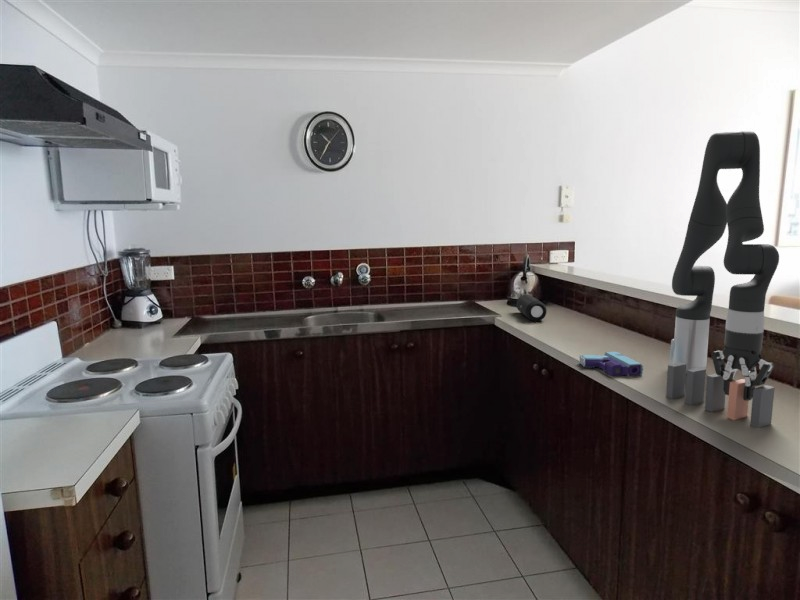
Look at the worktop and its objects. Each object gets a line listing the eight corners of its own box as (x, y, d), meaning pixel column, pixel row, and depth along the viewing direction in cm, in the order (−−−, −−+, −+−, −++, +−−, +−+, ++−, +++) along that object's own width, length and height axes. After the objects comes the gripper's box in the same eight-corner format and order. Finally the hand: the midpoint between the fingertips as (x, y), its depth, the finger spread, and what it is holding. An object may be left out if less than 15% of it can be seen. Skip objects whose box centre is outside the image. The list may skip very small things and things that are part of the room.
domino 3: (704, 409, 129) (706, 375, 128) (717, 406, 131) (719, 372, 130) (711, 412, 128) (713, 377, 126) (724, 408, 130) (726, 374, 128)
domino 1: (666, 396, 139) (668, 364, 138) (678, 393, 141) (680, 362, 140) (671, 398, 137) (674, 366, 136) (684, 395, 140) (686, 363, 138)
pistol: (575, 365, 172) (617, 362, 173) (597, 379, 156) (643, 376, 158) (575, 353, 171) (617, 350, 172) (597, 366, 156) (644, 363, 157)
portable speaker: (515, 312, 264) (515, 293, 262) (534, 312, 264) (534, 293, 262) (526, 322, 239) (527, 301, 237) (548, 322, 239) (548, 301, 237)
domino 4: (727, 417, 124) (729, 382, 123) (739, 413, 126) (742, 378, 125) (734, 420, 123) (737, 384, 121) (747, 416, 125) (750, 380, 123)
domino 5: (750, 425, 119) (753, 388, 118) (762, 421, 122) (766, 385, 120) (758, 428, 118) (761, 390, 116) (771, 423, 120) (774, 387, 118)
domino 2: (684, 403, 134) (687, 370, 133) (697, 399, 136) (699, 367, 135) (691, 405, 133) (693, 372, 131) (703, 401, 135) (706, 369, 133)
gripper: (786, 332, 116) (778, 403, 119) (724, 321, 129) (718, 386, 132) (766, 336, 113) (759, 409, 116) (705, 324, 126) (700, 391, 129)
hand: (737, 396), depth 124 cm, fingers open, 4 cm apart
